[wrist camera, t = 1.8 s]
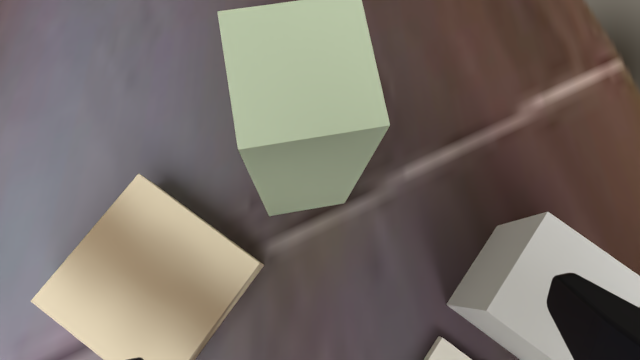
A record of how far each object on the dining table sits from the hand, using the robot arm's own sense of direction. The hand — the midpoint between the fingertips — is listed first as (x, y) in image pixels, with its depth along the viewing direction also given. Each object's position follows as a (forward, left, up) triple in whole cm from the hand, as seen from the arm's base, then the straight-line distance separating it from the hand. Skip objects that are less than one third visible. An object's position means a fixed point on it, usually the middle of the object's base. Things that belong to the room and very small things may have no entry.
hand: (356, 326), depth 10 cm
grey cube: (+6, -8, -13) cm, 16 cm away
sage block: (+5, +5, -13) cm, 15 cm away
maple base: (-4, +7, -13) cm, 15 cm away
